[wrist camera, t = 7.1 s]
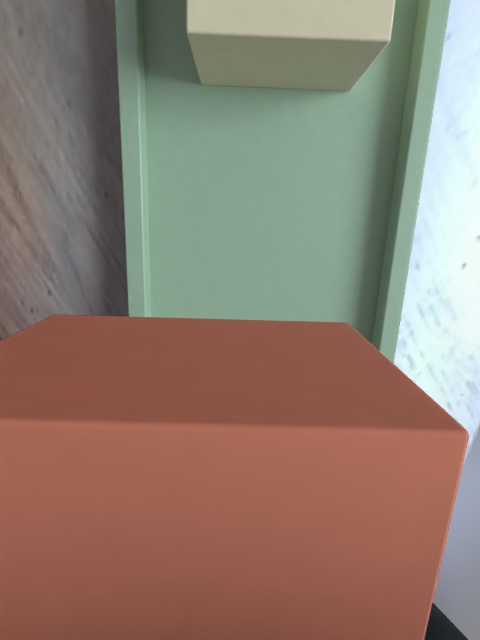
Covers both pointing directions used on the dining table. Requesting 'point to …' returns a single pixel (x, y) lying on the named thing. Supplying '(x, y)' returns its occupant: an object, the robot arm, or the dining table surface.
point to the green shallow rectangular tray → (275, 156)
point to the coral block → (217, 483)
